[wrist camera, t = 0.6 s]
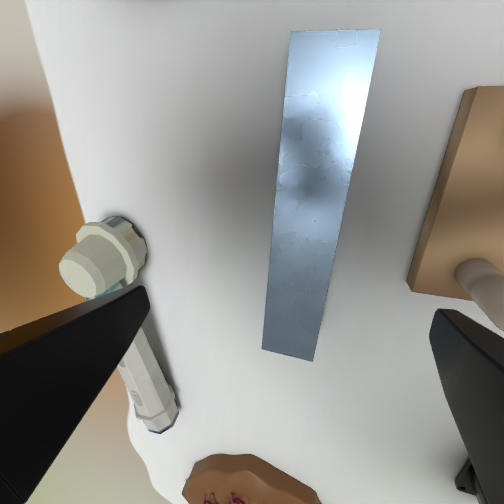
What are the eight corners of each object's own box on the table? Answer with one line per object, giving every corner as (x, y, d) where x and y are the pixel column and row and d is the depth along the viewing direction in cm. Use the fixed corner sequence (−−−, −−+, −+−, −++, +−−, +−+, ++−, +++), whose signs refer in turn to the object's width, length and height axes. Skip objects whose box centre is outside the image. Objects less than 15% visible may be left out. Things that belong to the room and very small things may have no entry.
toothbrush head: (133, 430, 31) (17, 249, 19) (163, 379, 37) (89, 212, 24) (172, 441, 30) (75, 253, 17) (197, 386, 35) (137, 212, 23)
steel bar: (315, 327, 24) (312, 361, 20) (271, 318, 24) (261, 349, 21) (369, 53, 15) (381, 28, 12) (299, 54, 16) (290, 31, 12)
